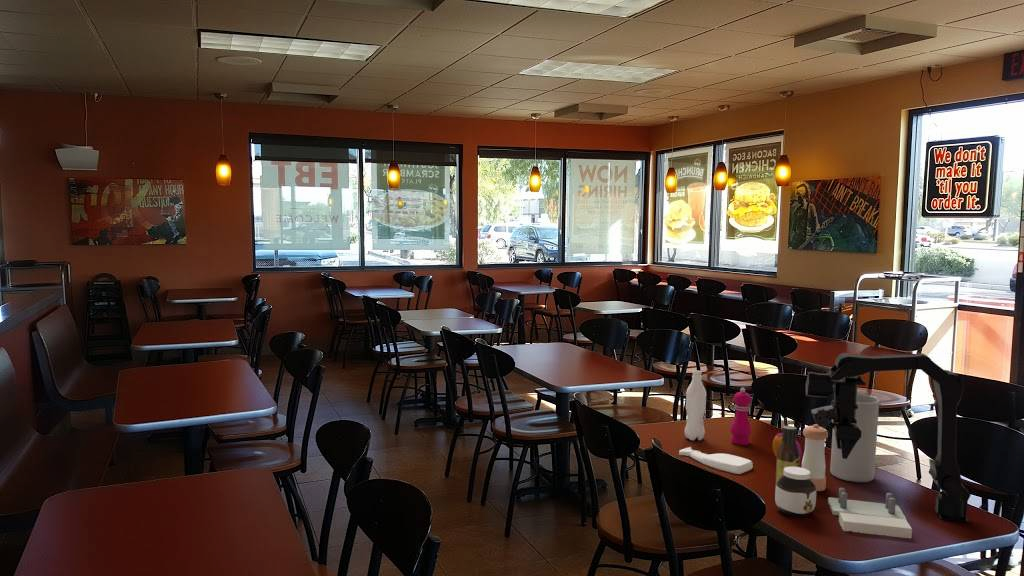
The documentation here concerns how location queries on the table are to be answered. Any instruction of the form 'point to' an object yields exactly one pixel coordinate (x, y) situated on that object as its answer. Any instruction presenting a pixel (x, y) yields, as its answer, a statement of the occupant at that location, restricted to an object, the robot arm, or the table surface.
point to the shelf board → (875, 525)
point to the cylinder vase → (859, 445)
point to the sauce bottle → (787, 451)
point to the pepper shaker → (815, 455)
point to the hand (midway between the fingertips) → (841, 453)
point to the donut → (777, 443)
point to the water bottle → (695, 407)
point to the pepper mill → (741, 419)
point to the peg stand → (865, 506)
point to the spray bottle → (720, 461)
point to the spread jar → (795, 492)
